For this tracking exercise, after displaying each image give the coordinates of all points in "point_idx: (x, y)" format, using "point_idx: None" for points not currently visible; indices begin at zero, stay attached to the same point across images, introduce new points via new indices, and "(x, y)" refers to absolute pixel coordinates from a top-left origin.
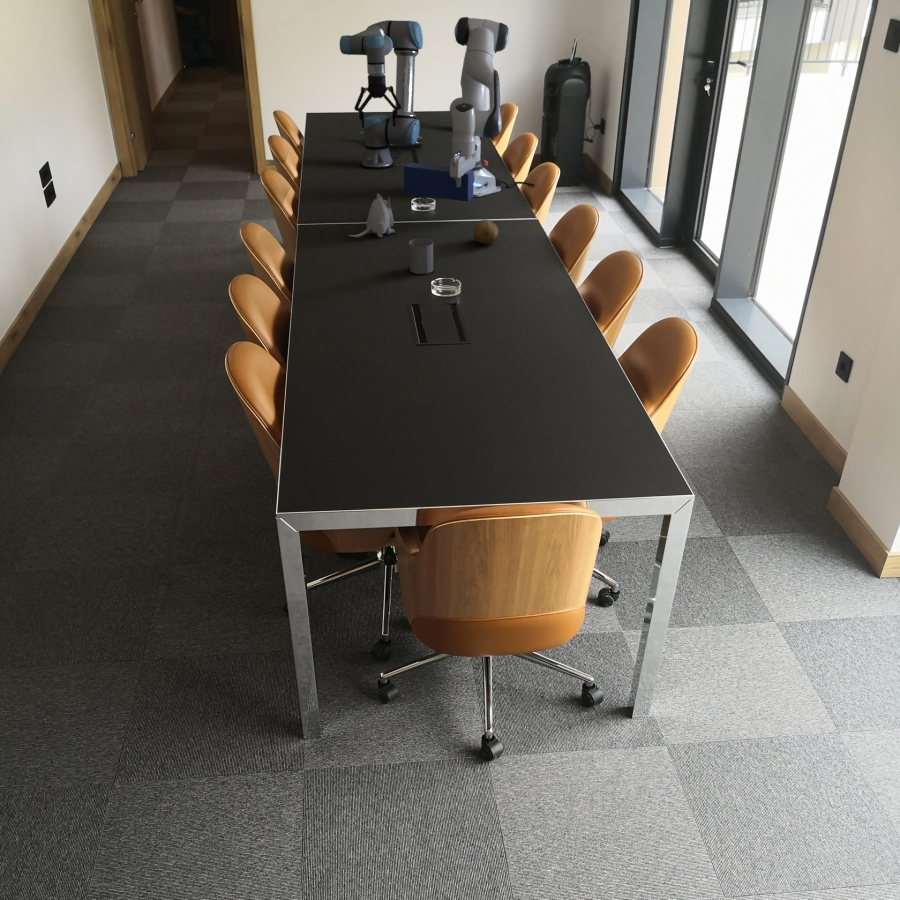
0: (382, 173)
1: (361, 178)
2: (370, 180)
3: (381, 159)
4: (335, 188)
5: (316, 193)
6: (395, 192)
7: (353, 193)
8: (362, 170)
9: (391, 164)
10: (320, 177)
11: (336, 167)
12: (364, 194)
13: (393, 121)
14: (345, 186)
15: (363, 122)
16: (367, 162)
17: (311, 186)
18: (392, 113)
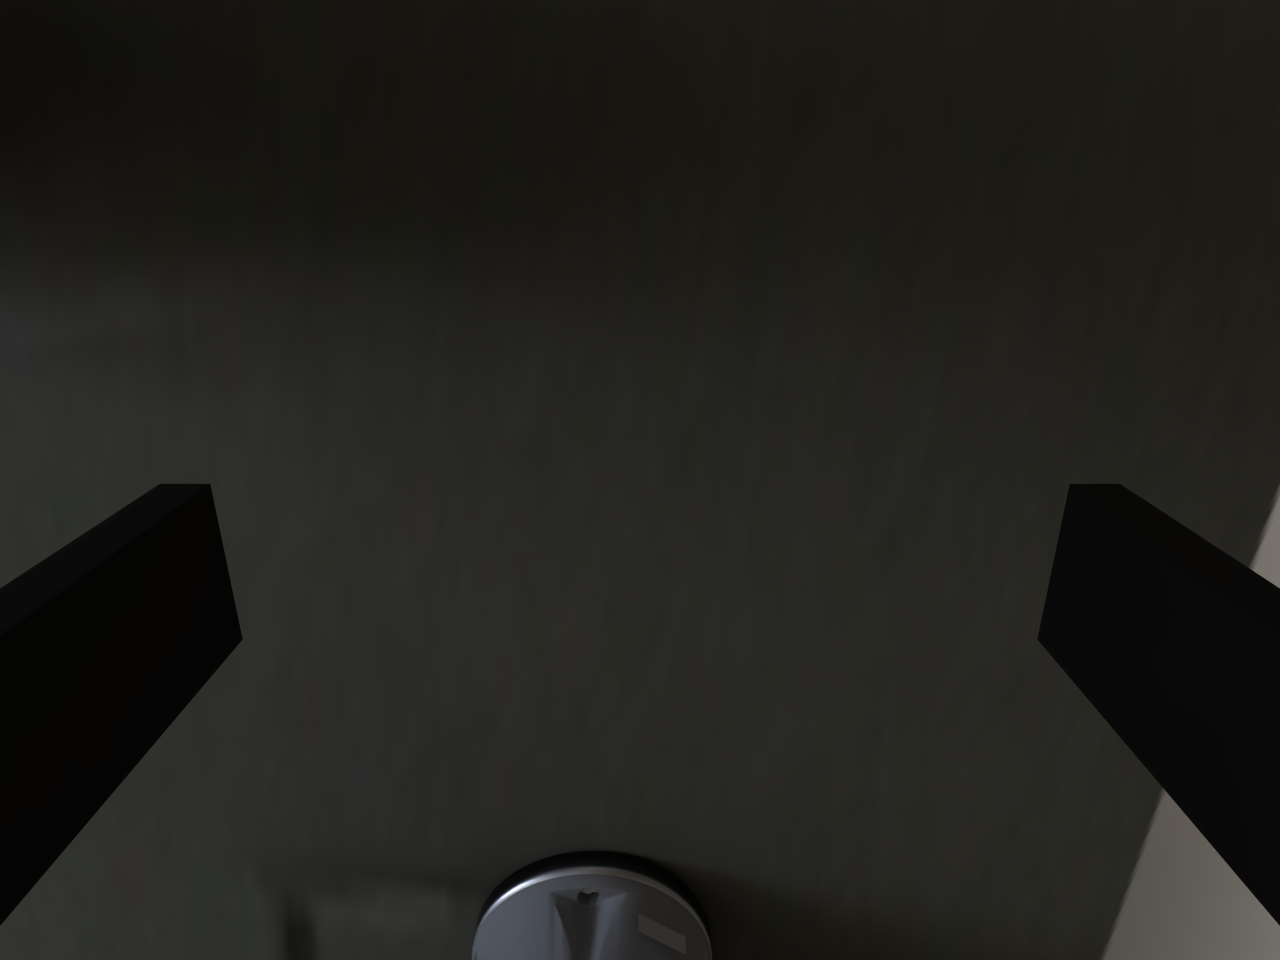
0: (577, 745)
1: (767, 645)
2: (701, 578)
3: (563, 920)
4: (1054, 394)
5: (1273, 261)
6: (512, 148)
7: (930, 192)
8: (724, 838)
9: (487, 905)
10: (1088, 722)
11: (903, 930)
12: (830, 134)
13: (120, 553)
14: (951, 440)
15: (1183, 555)
16: (678, 917)
17: (1241, 492)
18: (13, 900)
